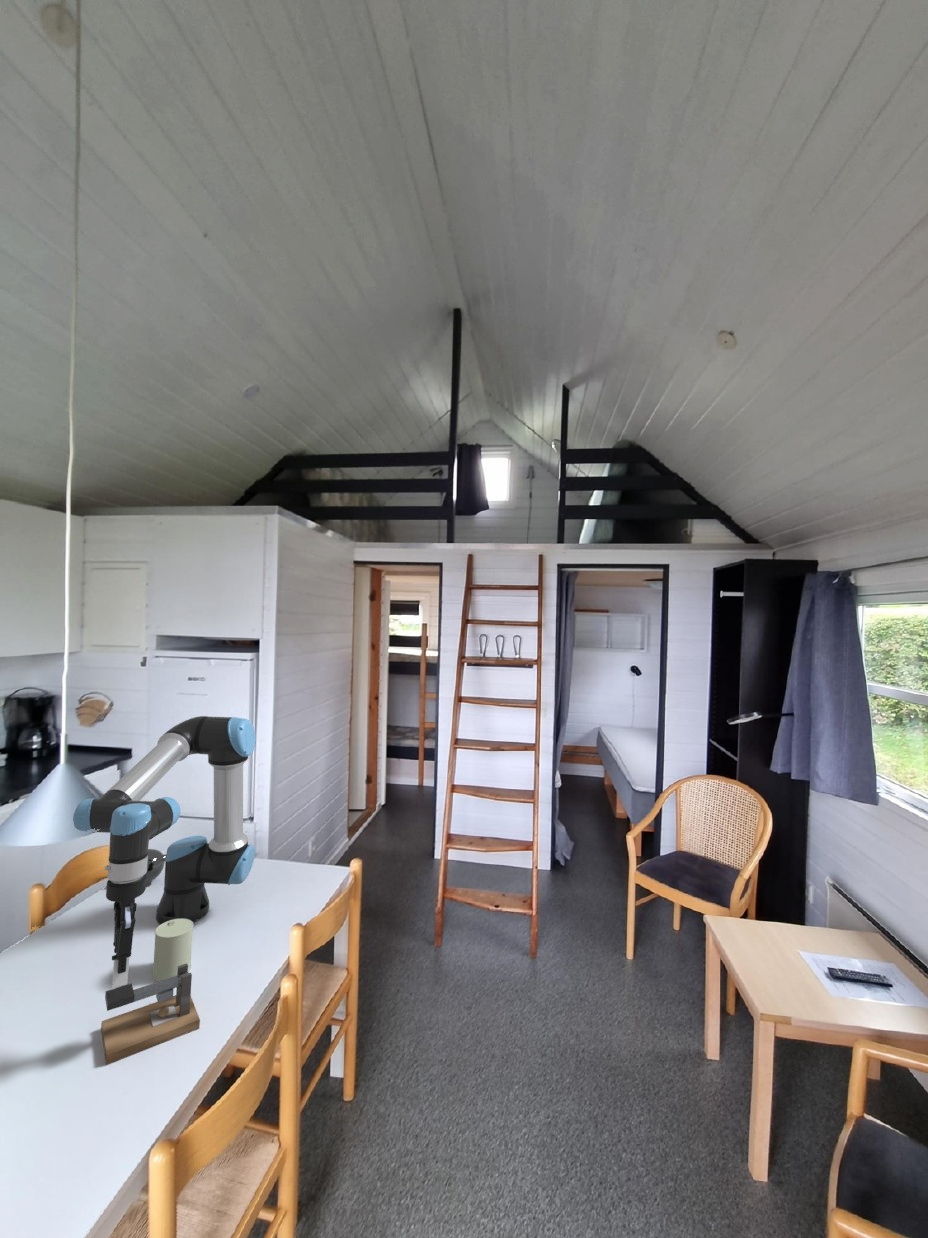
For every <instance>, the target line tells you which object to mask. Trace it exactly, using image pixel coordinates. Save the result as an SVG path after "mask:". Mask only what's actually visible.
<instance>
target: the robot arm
mask: <svg viewBox="0 0 928 1238" xmlns="http://www.w3.org/2000/svg"><path fill="white" fill-rule="evenodd" d="M256 738H257V737H256V729H255V727H254V725H253V723H252V722H251V721H250V720H249V719H247V718H240V717H236V716H232V717H230V716H228V717H227V716H208V715H200V716H194V717H191V718H189V719H186V720H183V721H181V722H179V723H178V724H176V725H174V726H173V727H172V728H169V730H167V731H166V732H165V733H163V734H162V735H161V736H160V737H159V738H158V740H157V745H156V746H154V748H152V749H151V750H150V751H149V752H148V753H147V754H146V755H145V756H143V757H142V758H141V760H139V761H138V762H137V763H136V764H135V765H133V767H132V768H131V769H130V770H128V772H126V773H125V774H124V775H123V776H122V777H121V778H120V779H119V780H117V782H116V783H114V784H113V785H112V786H111V787H110V788H109V789H107V790H106V792H105V793H104V794H102V795H101V796H100V797H99V798H97V797H93V798H87V799H83V800H82V801H80V802H79V804H78V805H77V806H76V808H75V810H74V813H73V817H72V821H73V826H74V828H75V829H76V830H78V831H81V832H88V831H87V830H90V829H94V828H95V830H97V829H100V830H99V831H97V832H96V833H106V834H108V833H109V850H108V851H109V852H108V854H109V855H108V865H105V866H104V870H105V871H107V882H106V888H105V889H106V891H105V897H106V899H107V900H108V901H109V902H114V903H113V911H114V919H113V920H114V931H113V932H114V934H113V947H114V949H113V953H114V955H111V960H112V961H113V966H112V969H113V970H112V983H111V985H112V986H111V987H112V989H115V988H118V987H121V986H124V985H127V984H128V979H129V965H130V957H132V956H131V955H132V949H133V948H132V946H133V938H134V929H135V925H136V920H137V919H136V917H135V915H136V912H137V907H138V906H137V905H138V904H137V902H136V899H137V898H138V897H140V896H142V895H143V894H144V893H145V892H146V888H147V887H146V872H147V864H148V849H149V842H150V840H152V839H153V838H155V837H157V836H159V835H160V834H162V833H163V832H166V831H167V830H169V829H170V828H171V827H172V826H173V825H174V824H176V823H177V821H178V820H179V818H180V816H181V808H180V804H179V802H178V801H177V800H176V799H175V798H173V797H169V796H164V797H161V798H157V799H155V800H153V801H152V800H151V801H149V800H142V799H143V798H144V797H145V796H146V795H147V794H148V793H149V792H150V791H151V790H152V789H153V788H154V787H155V786H156V785H157V784H158V783H159V782H160V780H161V779H162V778H163V777H164V776H165V775H166V774H167V773H168V772H169V771H170V770H171V769H172V768H173V767H174V766H175V765H176V764H177V762H181V761H183V760H185V759H187V757H188V756H191V755H207V762H208V764H209V765H210V766H211V767H213V837H212V838H211V840H210V841H209V840H208V838H207V836H204V835H192V836H188V837H184V838H181V839H178V840H175V841H174V842H172V843H171V844H169V846H168V847H167V849H166V859H165V863H164V884H163V886H164V887H163V893H162V895H161V899H160V901H159V903H158V906H157V908H156V912H155V920H156V922H157V923H158V924H160V925H161V924H163V923H165V922H167V921H170V920H174V919H189V920H191V921H192V922H193V923H194V922H197V921H198V920H200V919H202V918H203V917H205V916H206V915H207V914H208V912H209V911H210V898H209V896H208V893H207V889H206V886H205V884H217V885H218V884H222V885H228V886H229V885H240V884H243V883H244V882H245V881H246V880H247V879H248V876H249V875H250V873H251V870H252V868H253V864H254V861H255V855H256V848H255V846H254V845H253V844H249V838H248V837H249V836H248V835H247V834H245V833H244V764H246V762H247V761H248V760H249V756H251V755H252V754H253V752H254V751H255V745H256V741H257V739H256ZM92 833H95V832H92Z"/></svg>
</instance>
